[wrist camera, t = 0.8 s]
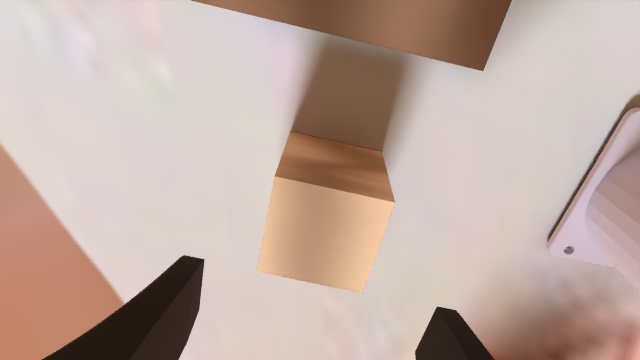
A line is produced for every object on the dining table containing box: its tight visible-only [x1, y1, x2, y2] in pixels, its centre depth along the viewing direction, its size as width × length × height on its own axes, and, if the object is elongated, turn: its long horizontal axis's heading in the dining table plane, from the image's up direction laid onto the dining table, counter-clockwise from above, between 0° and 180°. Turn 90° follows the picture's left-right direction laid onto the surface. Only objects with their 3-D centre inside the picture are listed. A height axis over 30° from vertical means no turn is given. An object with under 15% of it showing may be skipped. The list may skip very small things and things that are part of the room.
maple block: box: [257, 131, 395, 293], centre depth 17 cm, size 4×4×5 cm
